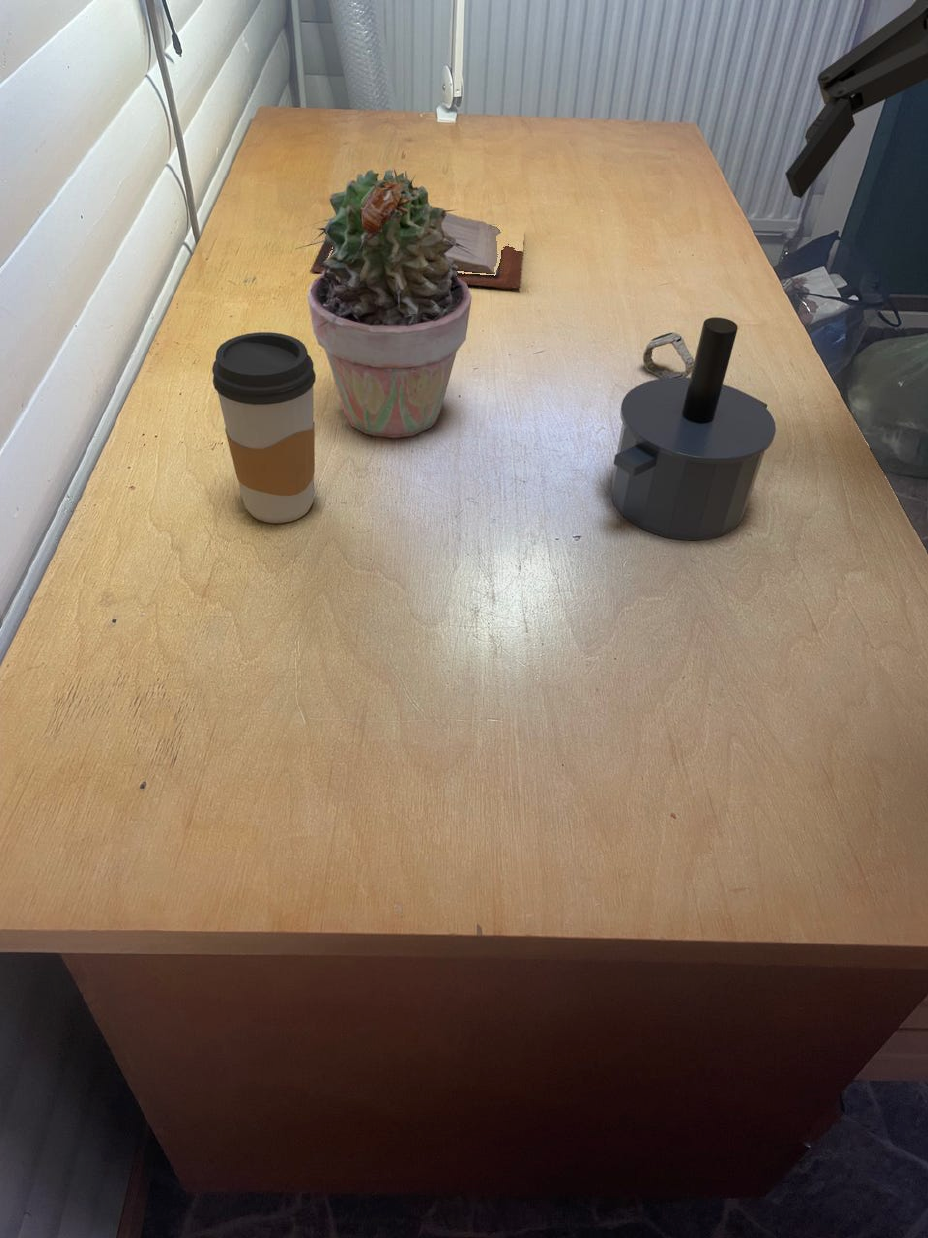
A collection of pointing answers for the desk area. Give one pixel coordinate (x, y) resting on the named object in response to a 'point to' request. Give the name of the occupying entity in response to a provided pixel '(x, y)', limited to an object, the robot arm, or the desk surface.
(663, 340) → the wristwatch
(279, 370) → the coffee cup
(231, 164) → the desk surface
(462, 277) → the book
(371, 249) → the potted plant
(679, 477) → the pot
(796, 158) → the robot arm
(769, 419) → the lid
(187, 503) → the desk surface
